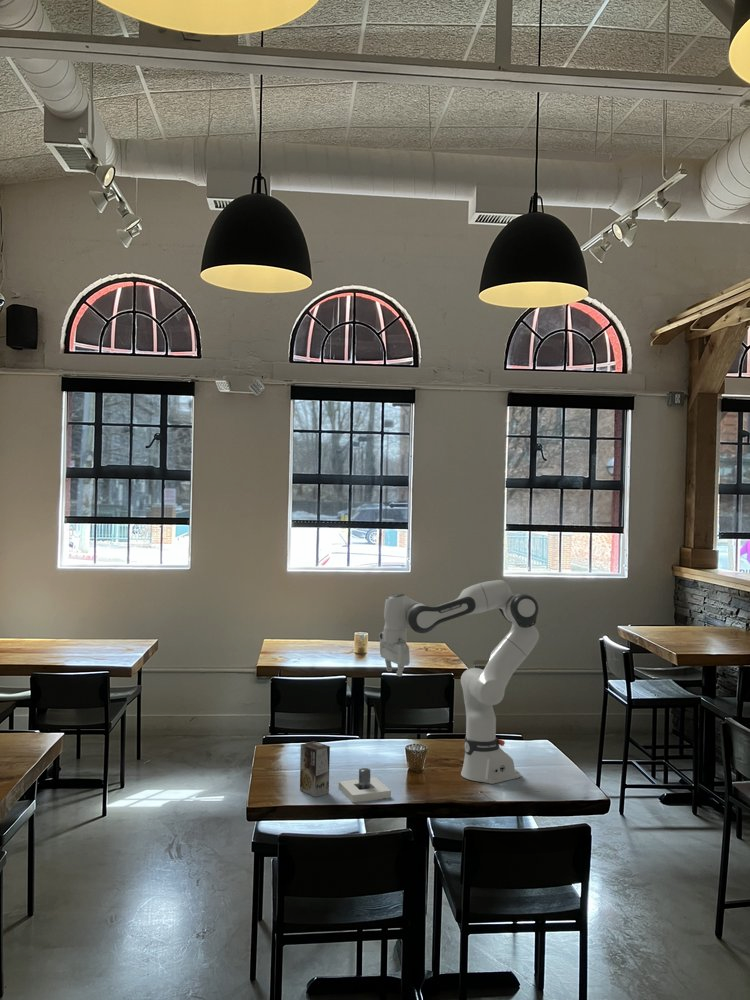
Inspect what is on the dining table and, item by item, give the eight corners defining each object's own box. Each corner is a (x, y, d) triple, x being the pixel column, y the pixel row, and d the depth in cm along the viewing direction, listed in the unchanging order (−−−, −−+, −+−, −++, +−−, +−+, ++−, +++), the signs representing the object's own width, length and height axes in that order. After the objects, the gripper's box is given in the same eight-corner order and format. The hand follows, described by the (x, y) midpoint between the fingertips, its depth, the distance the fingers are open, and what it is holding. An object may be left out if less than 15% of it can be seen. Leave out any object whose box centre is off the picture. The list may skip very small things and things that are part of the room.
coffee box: (329, 793, 259) (330, 746, 259) (315, 797, 254) (316, 749, 255) (313, 786, 266) (314, 740, 266) (298, 790, 261) (300, 743, 262)
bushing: (367, 790, 262) (367, 767, 262) (371, 794, 258) (372, 771, 259) (356, 792, 261) (357, 768, 261) (360, 795, 257) (361, 772, 257)
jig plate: (375, 784, 269) (375, 777, 269) (390, 797, 256) (390, 790, 256) (338, 788, 263) (338, 781, 263) (352, 802, 250) (352, 795, 251)
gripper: (414, 640, 275) (413, 678, 275) (392, 632, 294) (391, 668, 294) (398, 641, 273) (397, 679, 272) (377, 633, 292) (376, 668, 291)
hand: (394, 673), depth 283 cm, fingers open, 8 cm apart
